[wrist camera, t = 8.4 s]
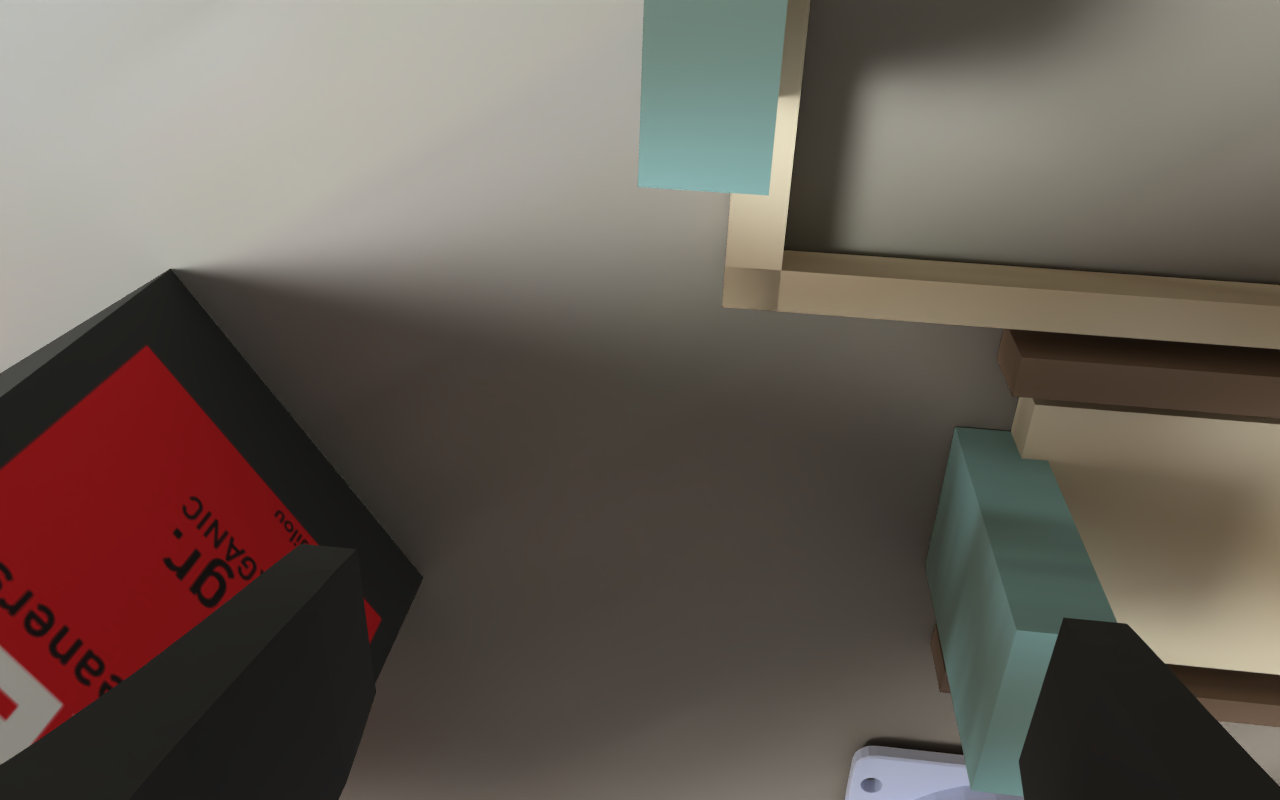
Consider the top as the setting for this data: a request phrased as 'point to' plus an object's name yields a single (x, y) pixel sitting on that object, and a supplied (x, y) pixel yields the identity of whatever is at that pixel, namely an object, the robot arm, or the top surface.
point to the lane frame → (1110, 530)
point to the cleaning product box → (152, 504)
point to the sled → (852, 284)
